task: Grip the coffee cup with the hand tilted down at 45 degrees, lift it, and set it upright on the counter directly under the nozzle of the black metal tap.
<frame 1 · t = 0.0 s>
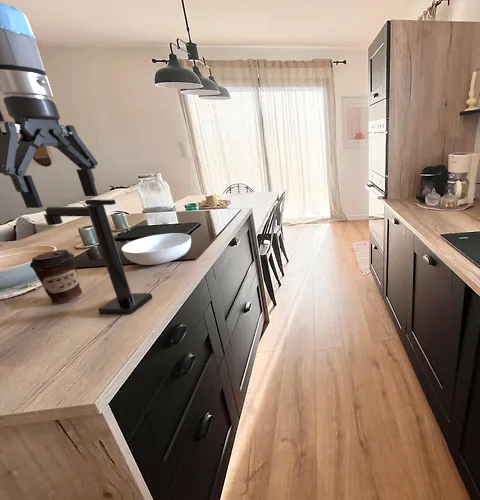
hand: (66, 201, 66), 27 cm above the counter, tool pointing down, fingers open, 13 cm apart
coffee cup: (68, 299, 78), on the counter
tap: (127, 305, 75), on the counter
serving bowl: (162, 260, 104), on the counter
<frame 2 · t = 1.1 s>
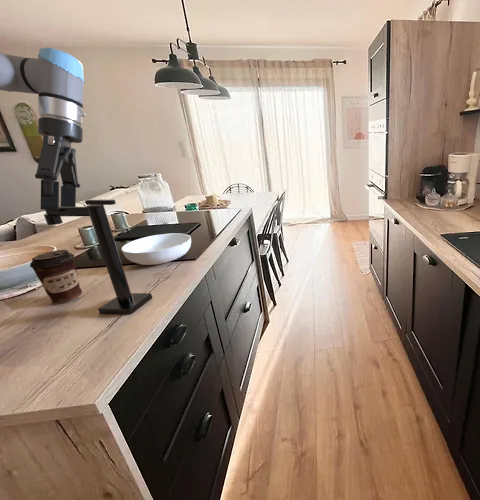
hand: (59, 211, 70), 24 cm above the counter, tool tilted 20°, fingers open, 13 cm apart
nothing on the counter moved.
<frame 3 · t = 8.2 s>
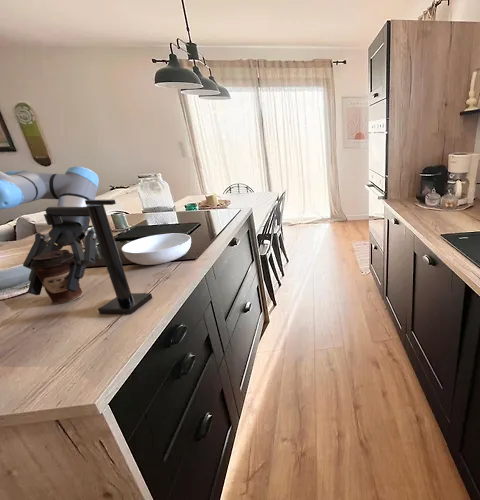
hand: (52, 291, 73), 4 cm above the counter, tool tilted 45°, fingers closed on coffee cup, 7 cm apart
coffee cup: (68, 298, 78), on the counter, touching gripper
everything else where it was.
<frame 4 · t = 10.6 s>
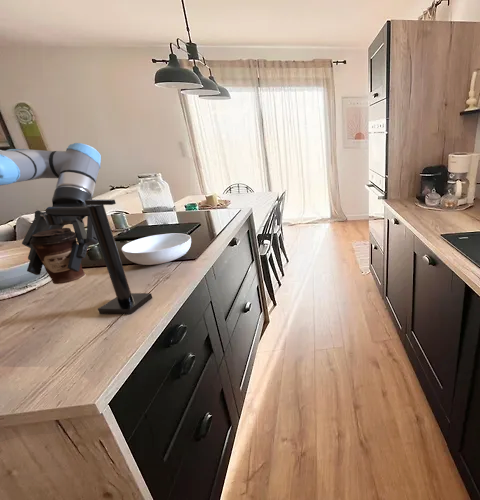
hand: (53, 271, 70), 11 cm above the counter, tool tilted 45°, fingers closed on coffee cup, 7 cm apart
coffee cup: (70, 279, 75), point 6 cm above the counter, touching gripper
everything else where it was.
when the fingers open (4 cm above the counter, at t = 13.5 s): coffee cup stays where it is, on the counter.
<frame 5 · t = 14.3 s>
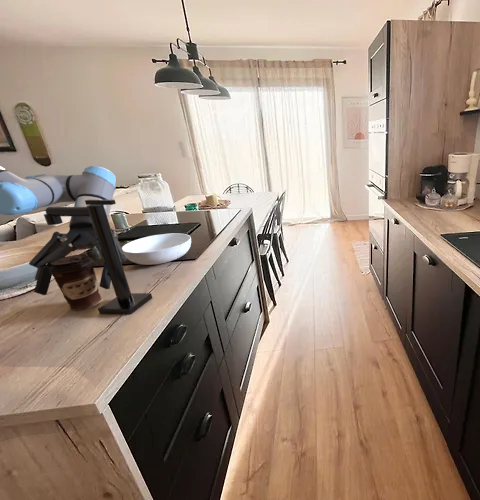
hand: (72, 290, 71), 6 cm above the counter, tool tilted 45°, fingers open, 13 cm apart
coffee cup: (87, 305, 75), on the counter
everything else where it was.
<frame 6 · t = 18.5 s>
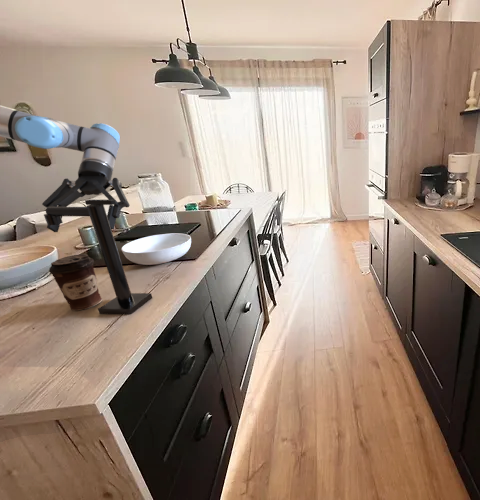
hand: (81, 228, 79), 18 cm above the counter, tool tilted 45°, fingers open, 13 cm apart
nothing on the counter moved.
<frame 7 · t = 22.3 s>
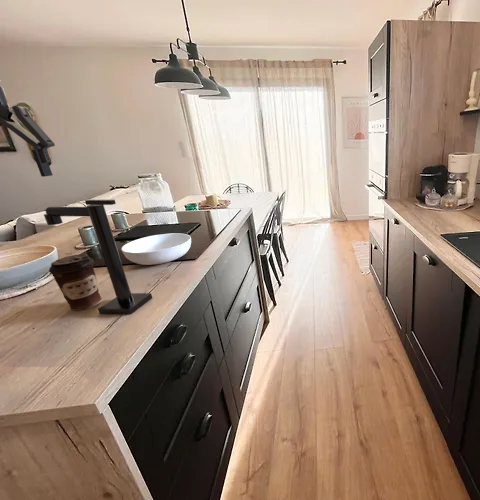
hand: (15, 176, 74), 32 cm above the counter, tool pointing down, fingers open, 13 cm apart
nothing on the counter moved.
at the end: coffee cup 0.3 cm from the target spot, on the counter; coffee cup tilted 0°; the gripper is holding nothing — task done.
